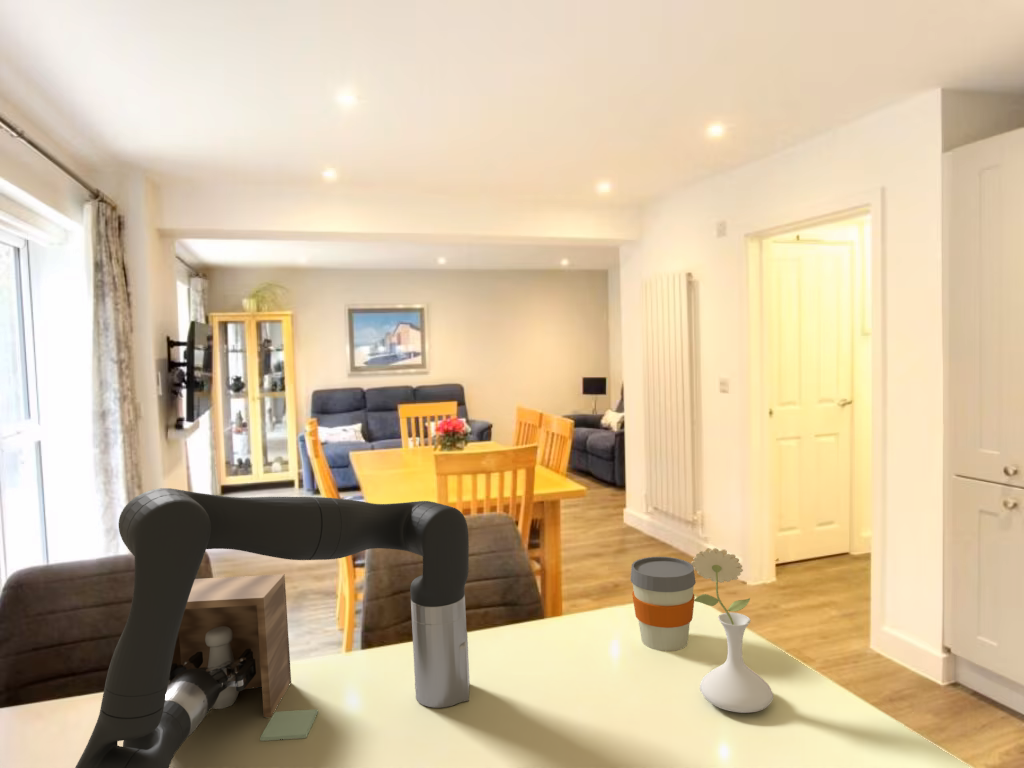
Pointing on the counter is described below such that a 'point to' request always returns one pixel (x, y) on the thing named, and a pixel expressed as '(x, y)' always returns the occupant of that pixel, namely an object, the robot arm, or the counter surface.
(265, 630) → the cubby
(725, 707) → the flower in vase
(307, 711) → the mat
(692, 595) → the reusable coffee cup
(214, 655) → the salt shaker
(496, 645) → the counter surface
